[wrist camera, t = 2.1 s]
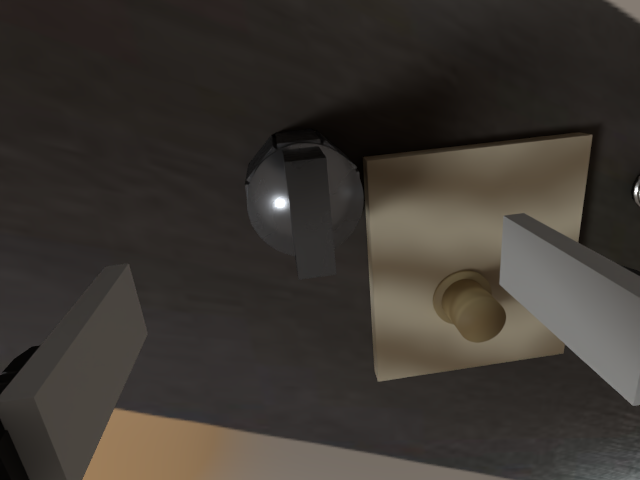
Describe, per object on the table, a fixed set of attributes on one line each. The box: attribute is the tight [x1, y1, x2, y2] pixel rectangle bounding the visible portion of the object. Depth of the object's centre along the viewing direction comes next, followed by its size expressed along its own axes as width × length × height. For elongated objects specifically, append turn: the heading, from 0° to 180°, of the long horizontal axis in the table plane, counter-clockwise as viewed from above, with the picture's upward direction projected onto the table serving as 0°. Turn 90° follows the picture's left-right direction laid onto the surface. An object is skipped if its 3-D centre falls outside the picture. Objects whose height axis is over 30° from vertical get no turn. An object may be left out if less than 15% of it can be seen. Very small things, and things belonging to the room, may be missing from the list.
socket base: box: [363, 132, 593, 381], centre depth 29 cm, size 16×14×4 cm
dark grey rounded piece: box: [245, 129, 364, 279], centre depth 24 cm, size 6×6×8 cm
